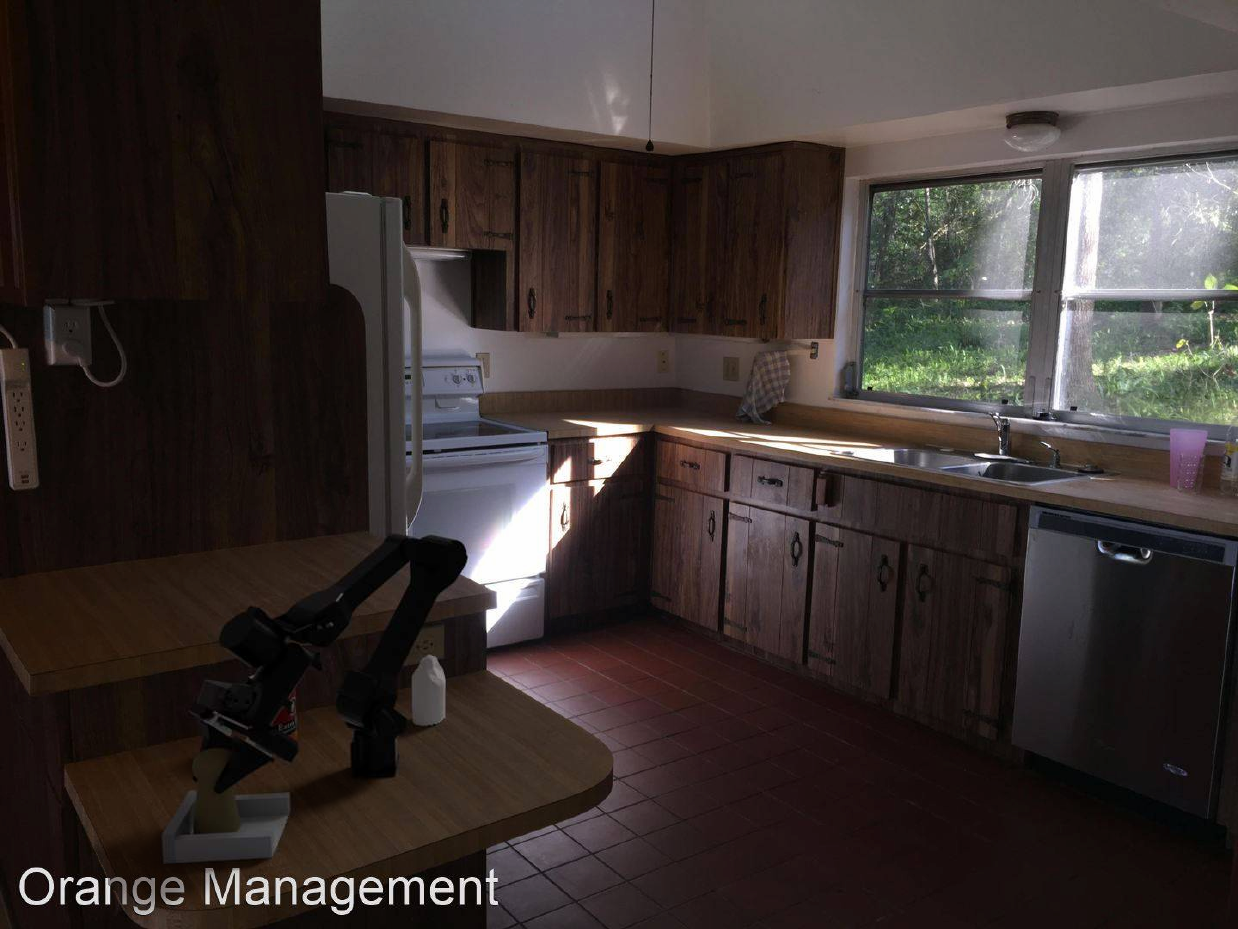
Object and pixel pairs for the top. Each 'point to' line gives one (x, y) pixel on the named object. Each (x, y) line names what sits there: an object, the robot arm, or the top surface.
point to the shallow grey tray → (251, 841)
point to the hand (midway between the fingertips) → (205, 786)
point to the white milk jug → (428, 692)
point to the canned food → (287, 718)
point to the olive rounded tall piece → (213, 795)
